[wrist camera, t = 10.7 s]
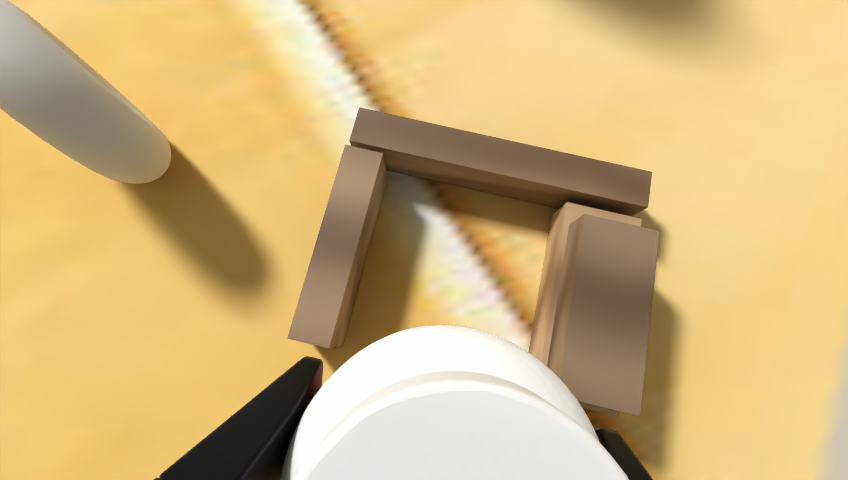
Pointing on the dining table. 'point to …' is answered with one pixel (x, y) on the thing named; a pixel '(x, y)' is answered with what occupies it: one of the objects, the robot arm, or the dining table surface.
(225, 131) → the dining table surface
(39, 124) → the grey rounded piece
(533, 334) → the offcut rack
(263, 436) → the robot arm
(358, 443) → the pill bottle
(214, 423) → the dining table surface
